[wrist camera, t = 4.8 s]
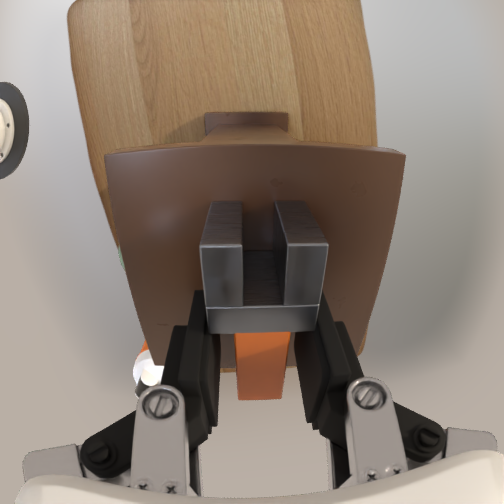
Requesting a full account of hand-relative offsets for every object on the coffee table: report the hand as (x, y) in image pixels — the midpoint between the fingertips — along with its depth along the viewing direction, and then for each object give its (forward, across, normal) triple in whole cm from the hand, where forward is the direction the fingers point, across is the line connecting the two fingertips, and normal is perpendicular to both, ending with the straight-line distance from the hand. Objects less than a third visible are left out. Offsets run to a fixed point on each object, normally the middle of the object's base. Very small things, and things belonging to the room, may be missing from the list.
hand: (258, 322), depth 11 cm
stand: (+30, 0, -1) cm, 30 cm away
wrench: (+1, 0, -1) cm, 1 cm away
